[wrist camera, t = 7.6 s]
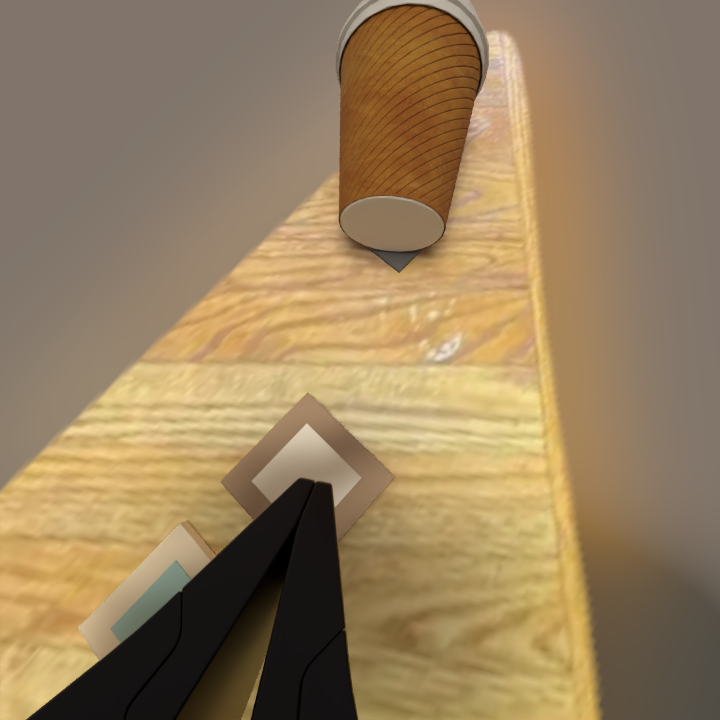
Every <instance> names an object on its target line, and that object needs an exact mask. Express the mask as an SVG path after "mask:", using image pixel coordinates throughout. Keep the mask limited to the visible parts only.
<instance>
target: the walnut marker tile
mask: <svg viewBox="0 0 720 720" xmlns="http://www.w3.org/2000/svg"><path fill="white" fill-rule="evenodd" d="M300 477H303V478H308V479H313V480H315V482H316V481H324V482H329V483H331V484H332V486H333V496H334V506H335V517H336V528H337V539H338V541H339V540H340V539H341V538H342V536H343V535H344V534H345V533H346V532H347V531H348V530H349V528H350V527H351V526H352V525H353V524H354V523H355V522H356V520H357V519H358V518H359V517H360V516H361V515H362V514H363V512H364V511H365V510H366V509H367V508H368V507H369V506H370V504H371V503H372V502H373V501H374V500H375V499H376V498H377V497H378V495H379V494H380V493H381V492H382V491H383V490H384V489H385V487H386V486H387V485H388V484H389V483H390V482H391V481H392V479H393V478H394V477H395V476H394V475H393V474H391V473H390V472H389V471H388V470H387V469H386V468H385V467H384V466H383V465H382V464H381V463H380V462H379V461H378V460H377V459H376V458H375V457H374V456H373V455H372V454H371V453H370V452H369V451H368V450H367V449H366V448H365V447H364V446H362V445H361V444H360V443H359V442H358V441H357V440H356V439H355V438H354V437H353V436H352V435H351V434H350V433H349V432H348V431H347V430H346V429H345V428H344V427H343V426H342V425H341V424H340V423H339V422H338V421H337V420H336V419H334V418H333V417H332V416H331V415H330V414H329V413H328V412H327V411H326V410H325V409H324V408H323V407H322V406H321V405H320V404H319V403H318V402H317V401H316V400H315V399H314V398H313V397H312V396H311V395H310V394H309V393H307V394H306V395H305V396H304V397H303V398H302V399H301V400H300V401H299V402H298V403H297V404H296V405H295V406H294V407H293V408H292V409H291V410H290V411H289V412H288V413H287V414H286V415H285V416H284V417H283V418H282V419H281V420H280V421H279V422H278V423H277V424H276V425H275V426H274V427H273V428H272V429H271V430H270V431H269V432H268V434H267V435H266V436H265V437H264V438H263V439H262V440H261V441H260V442H259V443H258V444H257V445H256V446H255V447H254V448H253V449H252V450H251V451H250V452H249V453H248V454H247V455H246V456H245V457H244V458H243V459H242V460H241V461H240V462H239V463H238V464H237V465H236V466H235V467H234V468H233V469H232V470H231V471H230V472H229V473H228V474H227V476H226V477H225V478H224V479H223V480H222V481H221V483H222V484H223V485H224V487H225V488H226V489H227V490H228V491H229V492H230V493H231V495H232V496H233V497H234V498H235V499H236V500H237V501H238V502H239V504H240V505H241V506H242V507H243V508H244V509H245V510H246V512H247V513H248V514H249V515H250V516H251V517H252V518H253V520H255V519H256V518H257V517H258V516H259V515H260V514H261V513H262V512H263V511H264V510H265V509H266V508H267V507H268V506H269V505H271V504H272V503H273V502H274V501H275V500H276V499H277V498H278V497H279V496H280V495H281V494H282V493H283V492H284V491H285V490H286V489H287V488H288V487H290V486H291V485H292V484H293V483H294V482H295V481H296V480H297V479H298V478H300Z"/></svg>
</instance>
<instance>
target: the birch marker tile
mask: <svg viewBox="0 0 720 720" xmlns="http://www.w3.org/2000/svg"><path fill="white" fill-rule="evenodd" d="M214 557H216V555H215V554H214V553H213V551H212V550H211V549H210V548H209V547H208V545H207V544H206V543H205V542H204V540H203V539H202V538H201V537H200V536H199V534H198V533H197V532H196V531H195V529H194V528H193V527H192V526H191V525H190V523H189V522H188V521H186V522H182V523H180V524H179V525H178V526H177V527H176V528H175V529H174V530H173V531H172V532H171V533H170V534H169V535H168V536H167V537H166V538H165V539H164V540H163V541H162V542H161V543H160V544H159V545H158V546H157V547H156V548H155V549H154V550H153V551H152V552H151V553H150V554H149V555H148V556H147V557H146V559H145V560H144V561H143V562H142V563H141V564H140V565H139V566H138V567H137V568H136V569H135V570H134V571H133V572H132V573H131V574H130V575H129V576H128V577H127V578H126V579H125V580H124V581H123V582H122V583H121V584H120V585H119V586H118V587H117V588H116V589H115V590H114V591H113V592H112V593H111V594H110V595H109V596H108V597H107V598H106V600H105V601H104V602H103V603H102V604H101V605H100V606H99V607H98V608H97V609H96V610H95V611H94V612H93V613H92V614H91V615H90V616H89V617H88V618H87V619H86V620H85V621H84V622H83V623H82V624H81V625H80V626H79V627H78V629H79V631H80V632H81V634H82V635H83V637H84V638H85V640H86V641H87V643H88V644H89V646H90V647H91V649H92V650H93V652H94V653H95V655H96V656H97V658H98V659H99V661H100V660H101V659H102V658H103V657H105V656H106V655H107V654H108V653H109V652H111V651H112V650H113V649H114V648H116V647H117V646H118V645H119V644H120V643H122V642H123V641H124V640H125V639H126V638H128V637H129V636H130V635H131V634H132V633H134V632H135V631H136V630H137V629H138V628H139V627H140V626H142V625H143V624H144V623H145V622H146V621H147V620H148V619H149V618H150V617H151V616H153V615H154V614H155V613H156V612H157V611H158V610H159V609H160V608H161V607H163V606H164V605H165V604H166V603H167V602H168V601H169V600H170V599H171V598H172V597H173V596H174V595H175V594H176V593H177V592H178V591H182V588H183V587H184V586H185V585H186V584H187V583H188V582H189V581H190V580H191V579H192V578H193V577H194V576H195V575H196V574H198V573H199V572H200V571H201V570H202V569H203V568H204V567H205V566H206V565H207V564H208V563H209V562H210V561H211V560H212V559H213V558H214Z"/></svg>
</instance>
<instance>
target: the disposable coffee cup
mask: <svg viewBox="0 0 720 720" xmlns="http://www.w3.org/2000/svg"><path fill="white" fill-rule="evenodd" d="M488 65H489V44H488V40H487V37H486V33H485V30H484V27H483V25H482V23H481V21H480V20H479V17H478V16H477V14H476V11H475V9H474V8H473V6H472V4H471V3H470V1H469V0H363V1H362V2H361V3H360V4H359V6H358V7H357V8H356V9H355V10H354V11H353V13H352V14H351V15H350V17H349V18H348V20H347V21H346V23H345V25H344V27H343V29H342V31H341V33H340V37H339V40H338V44H337V48H336V73H337V77H338V81H339V85H340V88H341V103H340V107H341V111H340V178H339V179H340V186H339V195H340V196H339V223H340V227H341V228H342V230H343V232H344V233H345V234H346V235H348V236H349V237H350V238H352V239H353V240H354V241H356V242H358V243H360V244H362V245H365V246H368V247H371V248H374V249H379V250H385V251H395V252H403V251H414V250H418V249H422V248H425V247H428V246H431V245H432V244H434V243H436V242H437V241H438V240H439V239H441V237H442V236H443V234H444V231H445V228H446V222H447V218H448V213H449V209H450V204H451V200H452V197H453V191H454V188H455V183H456V179H457V174H458V171H459V165H460V162H461V156H462V153H463V149H464V148H463V147H464V144H465V141H466V140H465V138H466V135H467V132H468V130H467V129H468V127H469V123H470V118H471V115H472V109H473V106H474V101H475V99H476V97H477V95H478V94H479V92H480V91H481V89H482V86H483V83H484V81H485V78H486V74H487V69H488Z"/></svg>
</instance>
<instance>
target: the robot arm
mask: <svg viewBox="0 0 720 720" xmlns="http://www.w3.org/2000/svg"><path fill="white" fill-rule="evenodd" d="M345 628H346V625H345V614H344V603H343V593H342V582H341V571H340V560H339V550H338V539H337V528H336V517H335V506H334V496H333V486H332V484H331V483H329V482H324V481H316V482H315V480H313V479H308V478H303V477H300V478H298V479H297V480H296V481H295V482H294V483H293V484H292V485H291V486H290V487H288V488H287V489H286V490H285V491H284V492H283V493H282V494H281V495H280V496H279V497H278V498H277V499H276V500H275V501H274V502H273V503H272V504H271V505H269V506H268V507H267V508H266V509H265V510H264V511H263V512H262V513H261V514H260V515H259V516H258V517H257V518H256V519H255V520H254V521H253V522H251V523H250V524H249V525H248V526H247V527H246V528H245V529H244V530H243V531H242V532H241V533H240V534H239V535H238V536H237V537H236V538H235V539H234V540H232V541H231V542H230V543H229V544H228V545H227V546H226V547H225V548H224V549H223V550H222V551H221V552H220V553H219V554H218V555H217V556H216V557H214V558H213V559H212V560H211V561H210V562H209V563H208V564H207V565H206V566H205V567H204V568H203V569H202V570H201V571H200V572H199V573H198V574H196V575H195V576H194V577H193V578H192V579H191V580H190V581H189V582H188V583H187V584H186V585H185V586H184V587H183V588H182V591H178V592H177V593H176V594H175V595H174V596H173V597H172V598H171V599H170V600H169V601H168V602H167V603H166V604H165V605H164V606H163V607H161V608H160V609H159V610H158V611H157V612H156V613H155V614H154V615H153V616H151V617H150V618H149V619H148V620H147V621H146V622H145V623H144V624H143V625H142V626H140V627H139V628H138V629H137V630H136V631H135V632H134V633H132V634H131V635H130V636H129V637H128V638H126V639H125V640H124V641H123V642H122V643H120V644H119V645H118V646H117V647H116V648H114V649H113V650H112V651H111V652H109V653H108V654H107V655H106V656H105V657H103V658H102V659H101V660H100V661H98V662H97V663H96V664H95V665H93V666H92V667H91V668H90V669H88V670H87V671H86V672H85V673H83V674H82V675H81V676H80V677H79V678H77V679H76V680H75V681H74V682H72V683H71V684H70V685H69V686H67V687H66V688H65V689H64V690H62V691H61V692H60V693H59V694H57V695H56V696H55V697H54V698H52V699H51V700H50V701H49V702H47V703H46V704H45V705H44V706H42V707H41V708H40V709H39V710H37V711H36V712H35V713H34V714H32V715H31V716H30V717H29V718H27V719H26V720H241V718H242V715H243V713H244V710H245V708H246V705H247V702H248V700H249V697H250V695H251V692H252V690H253V687H254V684H255V682H256V679H257V677H258V674H259V671H260V669H261V666H262V664H263V661H264V658H265V656H266V658H265V663H264V667H263V671H262V675H261V679H260V683H259V688H258V692H257V696H256V700H255V704H254V709H253V713H252V717H251V720H358V716H357V710H356V704H355V699H354V693H353V687H352V680H351V671H350V663H349V655H348V645H347V634H346V631H345ZM266 653H267V654H266Z"/></svg>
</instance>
